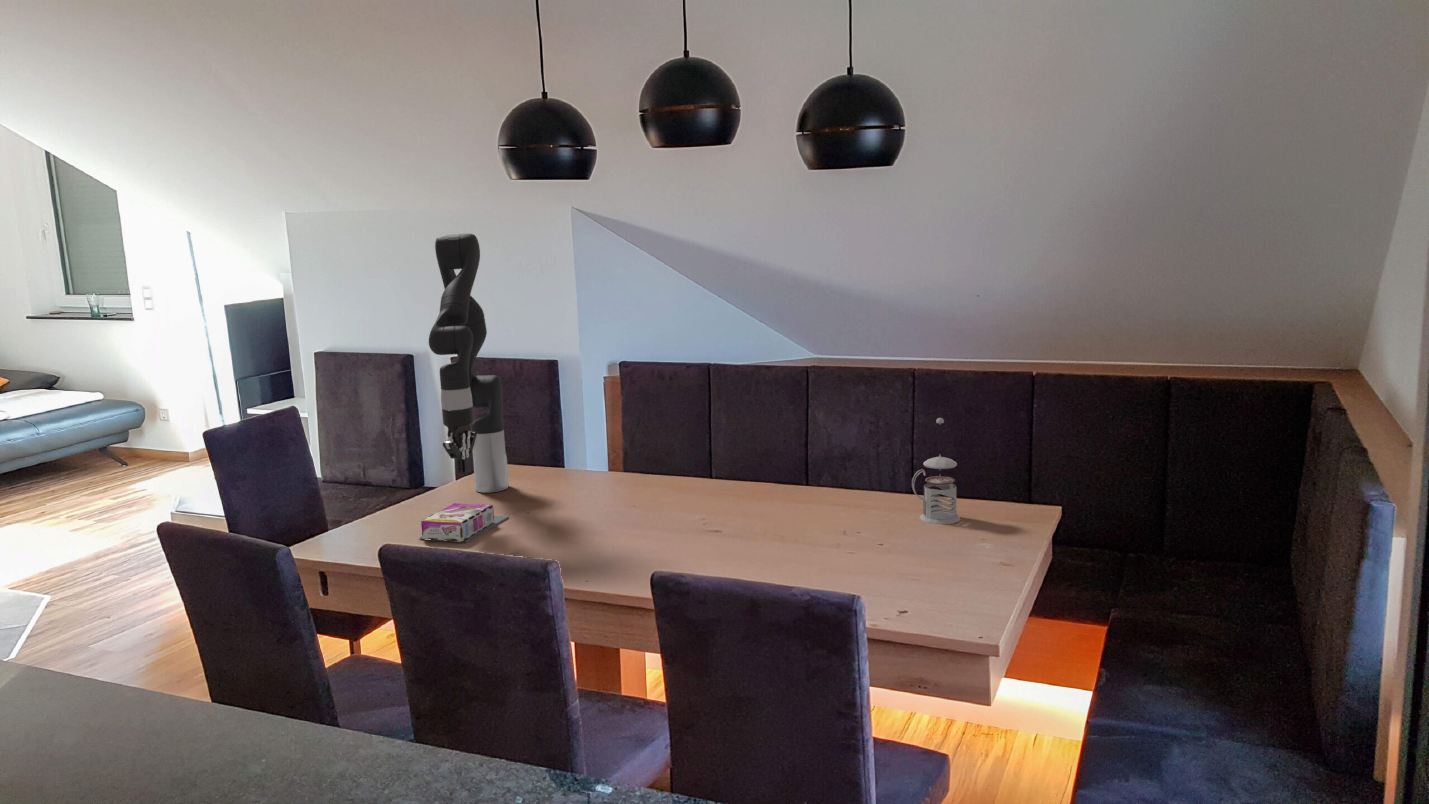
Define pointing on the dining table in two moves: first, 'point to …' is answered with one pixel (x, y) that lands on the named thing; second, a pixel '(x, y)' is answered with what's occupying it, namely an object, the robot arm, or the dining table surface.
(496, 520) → the mat
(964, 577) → the dining table surface
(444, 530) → the candy bar box
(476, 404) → the robot arm
